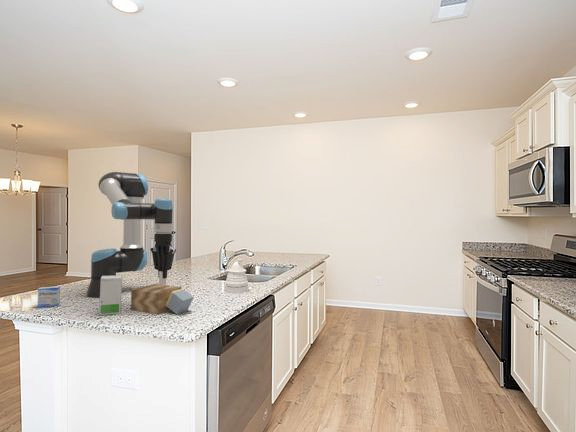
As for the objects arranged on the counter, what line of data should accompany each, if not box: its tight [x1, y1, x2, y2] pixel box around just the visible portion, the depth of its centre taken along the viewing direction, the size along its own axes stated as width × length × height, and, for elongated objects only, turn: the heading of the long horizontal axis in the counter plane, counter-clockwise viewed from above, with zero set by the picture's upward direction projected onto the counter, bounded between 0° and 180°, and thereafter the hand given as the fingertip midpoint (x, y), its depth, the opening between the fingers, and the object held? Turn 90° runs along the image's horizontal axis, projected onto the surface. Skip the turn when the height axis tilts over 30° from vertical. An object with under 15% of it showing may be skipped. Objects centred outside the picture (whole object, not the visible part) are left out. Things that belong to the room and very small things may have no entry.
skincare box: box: [98, 275, 123, 316], centre depth 145 cm, size 8×7×16 cm
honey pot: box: [224, 258, 249, 295], centre depth 190 cm, size 13×13×18 cm
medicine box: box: [37, 285, 61, 309], centre depth 153 cm, size 8×4×9 cm, turn 118°
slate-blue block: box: [166, 288, 194, 315], centre depth 148 cm, size 7×7×7 cm
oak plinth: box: [130, 283, 182, 315], centre depth 154 cm, size 16×14×9 cm
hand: (162, 285), depth 152 cm, fingers closed
